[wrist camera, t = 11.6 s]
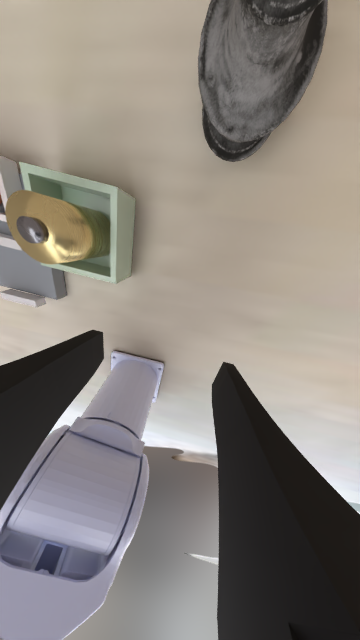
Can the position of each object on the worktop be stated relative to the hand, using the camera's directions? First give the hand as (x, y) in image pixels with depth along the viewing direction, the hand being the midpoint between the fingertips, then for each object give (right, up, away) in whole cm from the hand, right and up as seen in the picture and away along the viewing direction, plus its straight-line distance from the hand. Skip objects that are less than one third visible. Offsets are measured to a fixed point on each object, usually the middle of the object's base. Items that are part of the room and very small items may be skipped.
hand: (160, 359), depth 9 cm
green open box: (-7, +11, +6) cm, 15 cm away
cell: (-7, +11, +6) cm, 14 cm away
